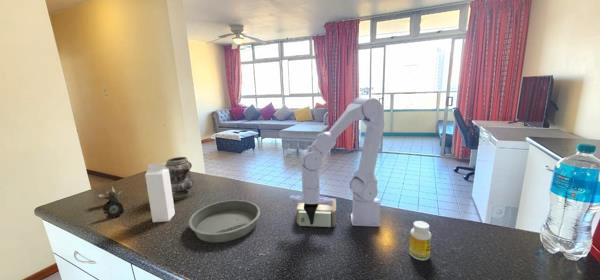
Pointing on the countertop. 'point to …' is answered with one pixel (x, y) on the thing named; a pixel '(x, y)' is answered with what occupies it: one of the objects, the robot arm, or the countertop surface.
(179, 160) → the carved stone vase
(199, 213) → the cake pan
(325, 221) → the door
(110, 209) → the artificial flower
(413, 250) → the supplement bottle
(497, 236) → the countertop surface
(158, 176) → the milk
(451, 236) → the countertop surface
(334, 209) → the cabinet
